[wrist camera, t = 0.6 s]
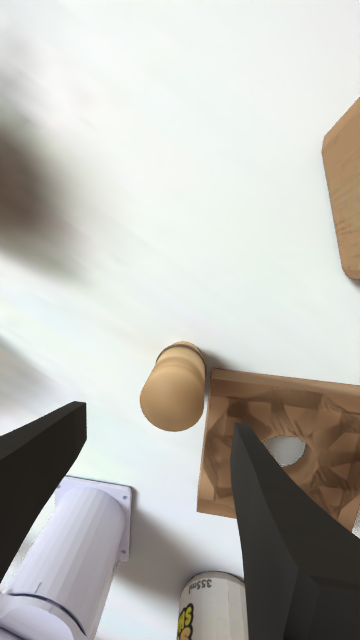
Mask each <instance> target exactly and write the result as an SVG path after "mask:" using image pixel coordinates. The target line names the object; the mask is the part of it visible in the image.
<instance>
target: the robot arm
mask: <svg viewBox="0 0 360 640" xmlns="http://www.w3.org/2000/svg"><path fill="white" fill-rule="evenodd" d="M86 440H87V426H86V403H85V402H77V401H74V402H71V403H69V404H67V405H65V406H63V407H61V408H59V409H57V410H55V411H53V412H51V413H49V414H47V415H45V416H43V417H41V418H39V419H37V420H35V421H33V422H31V423H29V424H26V425H24V426H22V427H20V428H18V429H16V430H13V431H11V432H9V433H7V434H4V435H2V436H0V583H1V581H2V579H3V577H4V575H5V573H6V572H7V570H8V568H9V566H10V564H11V562H12V561H13V559H14V557H15V555H16V553H17V551H18V550H19V548H20V546H21V544H22V542H23V541H24V539H25V537H26V535H27V534H28V532H29V530H30V528H31V527H32V525H33V523H34V521H35V520H36V518H37V516H38V515H39V513H40V512H41V510H42V509H43V507H44V506H45V504H46V503H47V501H48V500H49V498H50V497H51V495H52V494H53V492H54V491H55V510H54V511H53V513H52V514H51V516H50V518H49V519H48V521H47V522H46V524H45V525H44V527H43V529H42V530H41V532H40V533H39V535H38V537H37V538H36V540H35V541H34V543H33V544H32V546H31V548H30V549H29V551H28V552H27V554H26V556H25V557H24V559H23V560H22V562H21V563H20V565H19V567H18V568H17V570H16V571H15V573H14V575H13V576H12V578H11V579H10V581H9V582H8V584H7V586H6V587H5V589H4V590H3V592H0V640H93V639H94V637H95V634H96V632H97V628H98V625H99V622H100V619H101V615H102V612H103V609H104V606H105V602H106V599H107V596H108V593H109V589H110V586H111V583H112V579H113V576H114V573H115V570H116V566H117V563H118V561H120V562H127V561H128V558H129V543H130V519H131V495H132V491H131V489H130V488H129V487H126V486H120V485H114V484H108V483H102V482H96V481H91V480H85V479H79V478H73V477H67V476H65V475H66V474H67V472H68V471H69V469H70V468H71V466H72V465H73V463H74V462H75V460H76V459H77V457H78V455H79V453H80V451H81V449H82V447H83V445H84V443H85V441H86ZM230 473H231V486H232V492H233V498H234V504H235V510H236V516H237V523H238V529H239V535H240V541H241V549H242V558H243V570H244V582H245V595H246V609H247V622H248V638H249V640H360V539H359V538H358V537H357V536H355V535H354V534H353V533H351V532H350V531H349V530H348V529H346V528H345V527H344V526H343V525H341V524H340V523H339V522H338V521H336V520H335V519H334V518H333V517H332V516H330V515H329V514H328V513H327V512H326V511H325V510H323V509H322V508H321V507H320V506H319V505H318V504H317V503H316V502H314V501H313V500H312V499H311V498H310V497H309V496H308V495H307V494H306V493H305V492H304V491H303V490H302V489H301V488H300V487H299V486H298V485H297V484H296V483H295V482H294V481H293V480H292V479H291V478H290V477H289V476H288V474H287V473H286V472H285V471H284V470H283V469H282V468H281V466H280V465H279V464H278V463H277V462H276V460H275V459H274V458H273V457H272V455H271V454H270V453H269V451H268V450H267V449H266V448H265V446H264V445H263V443H262V442H261V441H260V439H259V438H258V437H257V435H256V434H255V432H254V431H253V429H252V428H251V427H250V425H249V424H245V423H238V422H235V426H234V433H233V440H232V448H231V455H230Z"/></svg>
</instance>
